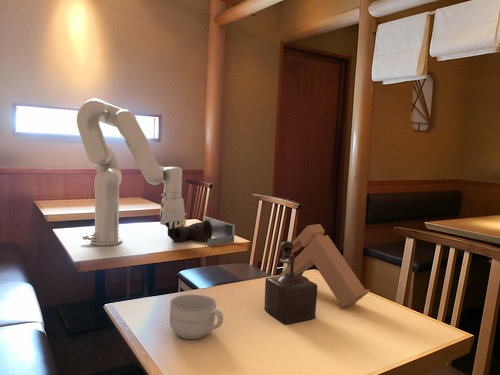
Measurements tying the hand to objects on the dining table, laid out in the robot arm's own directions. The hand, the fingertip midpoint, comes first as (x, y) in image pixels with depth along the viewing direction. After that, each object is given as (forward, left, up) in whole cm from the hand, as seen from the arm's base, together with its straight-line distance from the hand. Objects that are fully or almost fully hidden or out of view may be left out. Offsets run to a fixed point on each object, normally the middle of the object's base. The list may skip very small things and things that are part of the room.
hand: (171, 236), depth 178 cm
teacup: (-37, -79, -3) cm, 87 cm away
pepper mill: (-9, -80, -3) cm, 80 cm away
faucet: (+9, -77, -3) cm, 77 cm away
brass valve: (+16, +20, -3) cm, 26 cm away
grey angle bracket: (+18, 0, -3) cm, 19 cm away
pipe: (+11, +1, -3) cm, 11 cm away
